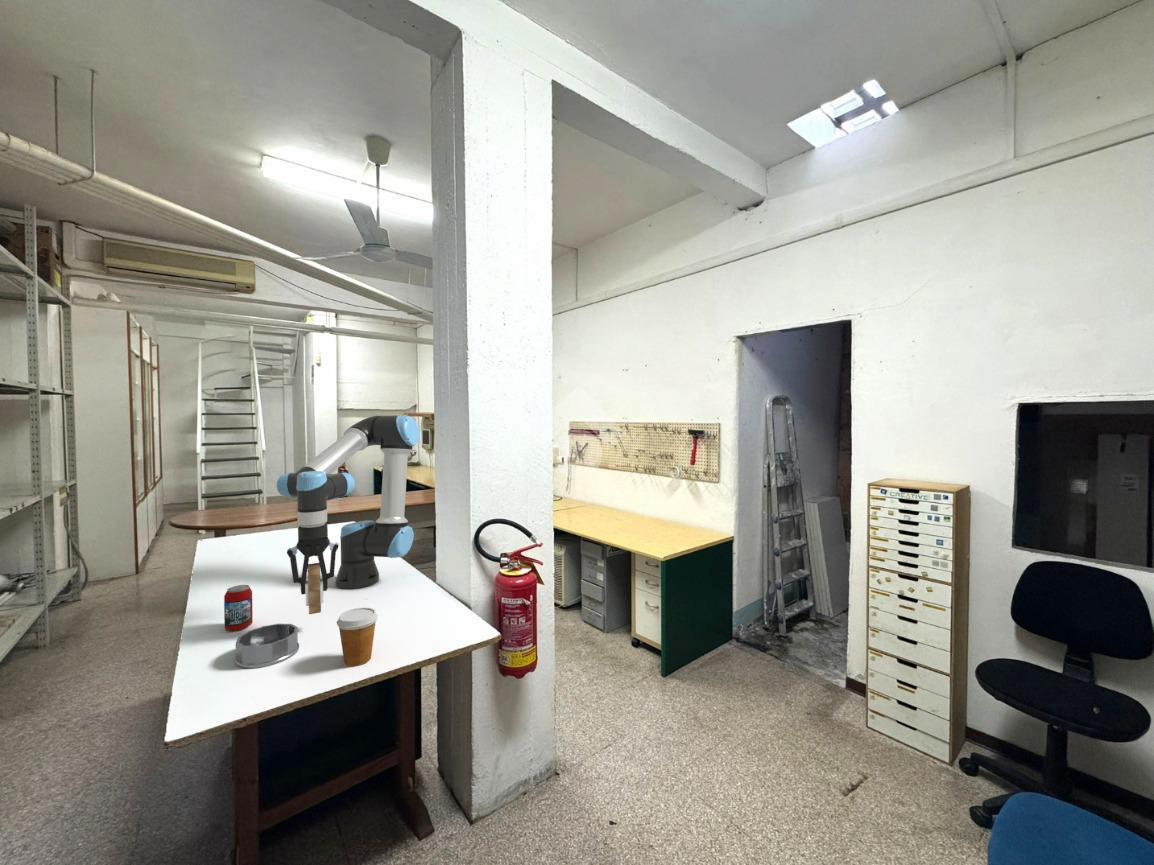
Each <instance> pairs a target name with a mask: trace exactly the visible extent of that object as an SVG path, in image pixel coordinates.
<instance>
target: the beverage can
mask: <svg viewBox="0 0 1154 865" xmlns="http://www.w3.org/2000/svg"><path fill="white" fill-rule="evenodd" d="M223 596H224V597H223V600H224V601H223V608H224V610H223V612H224V614H223V615H224V617H223V618H224V619H223V620H224V629H225V630H227V631H229V632H238V631H242V630H245V629H247V628H248V627H250V626H251V625H252V624H253V590H252V588H251V586H250V585H249V584H239V585H233V586H231V587H229V588H226V592H225V594H224V595H223Z"/></svg>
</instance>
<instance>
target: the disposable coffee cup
mask: <svg viewBox="0 0 1154 865" xmlns="http://www.w3.org/2000/svg"><path fill="white" fill-rule="evenodd" d="M378 616H379V615H378V613H377V611H376V609H375V608H372V607H357V608H356V607H355V608H352V609H349V610H346V611H344V612H342V613H341V614H340V615H339V616H338V618H337V621H336V625H337V627H338V629H339V636H340V643H341V650H342V656H343V664H344V665H345V666H347V667H358V666H362V665H364V664H366V663H368V662H369V661H370V660H371V659H372V654H373V644H374V636H375V629H376V622H377V619H378Z"/></svg>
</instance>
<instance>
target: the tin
mask: <svg viewBox="0 0 1154 865" xmlns="http://www.w3.org/2000/svg"><path fill="white" fill-rule="evenodd" d="M298 636H299V627H298V626H296V625H294V624H292V623H276V624H275V623H274V624H268V625H263V626H260V627H257V628H254V629H251V630H248V631H246V632H245V633H243V634H241V635H240V636H238V637H237V640H236V642H235V656H234V657H235V658H234V664H235V666H236V667H238V668H239V669H240V668H241V669H245V670H249V669H250V670H252V669H260V668H266V667H270V666H271V667H272V666H273V665H277V664H279V663H282V662H284V661H286V660H288V659H291V658H292V657H294V655H296V654H297V653H298V652H299V649H300V643H299V642H298V641H299V637H298Z"/></svg>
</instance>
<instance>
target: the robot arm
mask: <svg viewBox="0 0 1154 865" xmlns="http://www.w3.org/2000/svg"><path fill="white" fill-rule="evenodd" d="M419 441H420V429H419V425H418V423H417V421H416V420H415V419H414V418H413V417H411V416H410V415H409V416H407V415H400V414H398V415H373V416H367V417H366V418H364V419H361V420H359V421H358V422H355V423H354V424H353V425H351V426H350V427H348V428H347V429H345V430H344V432H343V436H341V437H340V438H338V439H337V440H336V441H335V442H333V443H332V444H331V445H330V446H328V447H327V448H325V449H324V450H323V451H321V452H320V453H319V454H318V455H316V456H315V457H313V459H311V460H310V461H309V462H308V463H306V464H305V465H304V466H302V467H301V468H300V469H298V470H296V472H288V473H287V472H286V473H283V474H281V475H280V476H279V477H278V479H277V482H276V489H277V492H278V493H279V495H281V496H283V497H291V498H296V500H297V504H296V505H297V513H296V515H297V525H298V527H297V543H296V545H295V546H293V547H289V548H288V549H287V550H286V554H287V556H288V557H289V561H290V567H291V569H290V570H291V574H292V575H291V576H292V582H293V583H294V584H300V594H301V595H305V606H306V607H309V598H308V580H307V577H308V564H309V563H310V562H309V561H310V558H311V557H317V560H318V563H319V564H320V575H321V578H320V601H321V605H322V604H324V601H325V600H324V592H325V591H326V592H327V591H328V587H329V584H328V580H329V579H332V578H334V577H335V567H336V566H335V565H336V554H337V551H338V549H339V543H338V542H333V541H330V539H329V535H328V534H329V533H328V532H329V531H328V523H327V522H328V501H330V500H333V499H334V500H335V499H338V498H343V497H345V496H349V495H350V494H352V493H353V491H354V490H355V488H356V482H355V479H354V477H353V476H352V475H351V474H350V473H348V472H337V473H334V472H335V471H337V469H338V468H339V467H341V466H342V465H343V464H345V463H346V462H347V461H348V460H349V459H350V458H352V457H353V456H354V455H355V454H356V453H358V451H364V450H365V449H367V448H368V447H372V446H380V448H379V449H380V451H381V452H382V453H383V464H382V465H383V466H382V467H383V468H382V479H381V480H382V484H381V496H380V497H381V499H380V514H379V518H378V519H376V520H375V521H374V520H371V519H370V520H369V519H368V520H361V521H355V522H351V523H348V524H345V525H343V526H342V527H341V529H340V536H339V538H340V565H339V569H338V572H337V575H336V578H335V587H337V588H339V589H345V590H347V589H348V590H350V589H351V590H353V589H354V590H355V589H361V588H365V587H369V586H373V585H375V584H376V583H378V582H379V580H380V572H379V570H378V567H377V564H376V561H375V557H377V558H378V557H379V558H380V557H381V558H390V559H392V558H393V559H395V558H403V557H405V556H406V555H407V554H408V552H409V551H410V549H411V547H412V545H413V542H414V536H415V533H414V531H413V527H411V526H410V525H409V520H408V519H407V518H406V517H405V512H406V511H405V509H406V508H405V507H406V495H407V494H406V493H407V474H408V458H409V457H408V456H409V455H410V454H411V453H412V452H413V447H414V446H417V444H418V443H419ZM328 547H329V550H330V563H329V572H328V573H327V567H326V562H325V558H324V553H325V551H326V549H327V548H328ZM297 550H298V551H299V552H300V553H301V554H302V555H303V556H304V557H303V563H302V569H301V570H302V571H301V576H300V575H299V569H298V562H297V554H298V553H297V552H298V551H297ZM299 576H300V577H299Z"/></svg>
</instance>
